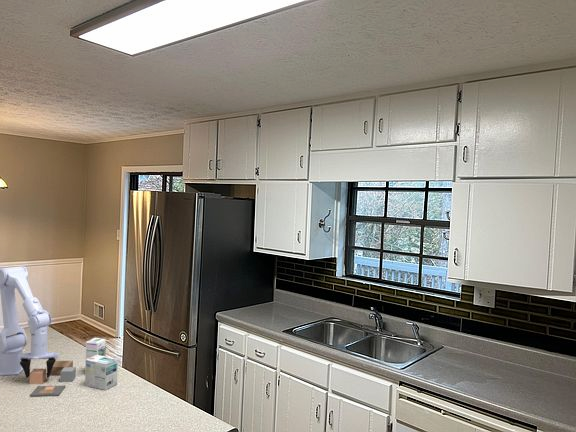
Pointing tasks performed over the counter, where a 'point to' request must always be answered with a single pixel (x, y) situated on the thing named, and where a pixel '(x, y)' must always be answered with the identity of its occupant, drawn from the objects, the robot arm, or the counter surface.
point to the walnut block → (60, 367)
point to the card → (47, 391)
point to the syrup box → (95, 347)
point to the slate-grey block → (68, 374)
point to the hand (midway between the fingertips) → (38, 376)
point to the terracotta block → (37, 376)
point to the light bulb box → (101, 372)
